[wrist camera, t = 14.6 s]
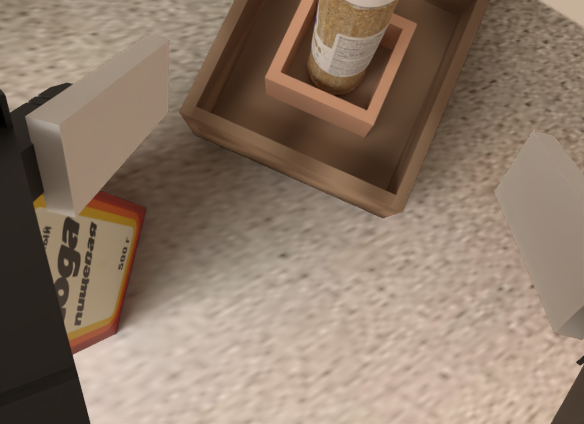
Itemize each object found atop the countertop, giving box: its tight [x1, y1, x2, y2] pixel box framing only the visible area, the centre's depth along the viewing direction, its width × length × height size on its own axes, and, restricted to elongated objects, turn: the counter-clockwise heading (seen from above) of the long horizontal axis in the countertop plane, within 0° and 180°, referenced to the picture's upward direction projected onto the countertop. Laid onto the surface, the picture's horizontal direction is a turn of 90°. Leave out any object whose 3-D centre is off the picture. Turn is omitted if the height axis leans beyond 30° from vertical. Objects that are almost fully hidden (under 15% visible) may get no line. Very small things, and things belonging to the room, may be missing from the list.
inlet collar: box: [265, 0, 417, 138], centre depth 30 cm, size 8×8×3 cm
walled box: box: [180, 0, 490, 218], centre depth 30 cm, size 16×18×5 cm
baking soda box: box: [33, 191, 146, 355], centre depth 23 cm, size 10×6×16 cm
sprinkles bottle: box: [307, 0, 399, 95], centre depth 25 cm, size 5×5×13 cm
